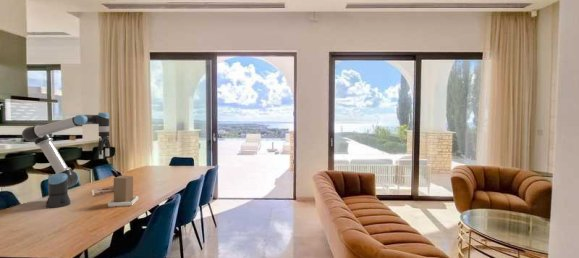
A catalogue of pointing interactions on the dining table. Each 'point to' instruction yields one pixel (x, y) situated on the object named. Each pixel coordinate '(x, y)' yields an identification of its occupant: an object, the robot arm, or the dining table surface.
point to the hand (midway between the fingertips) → (104, 157)
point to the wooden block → (123, 188)
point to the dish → (113, 204)
